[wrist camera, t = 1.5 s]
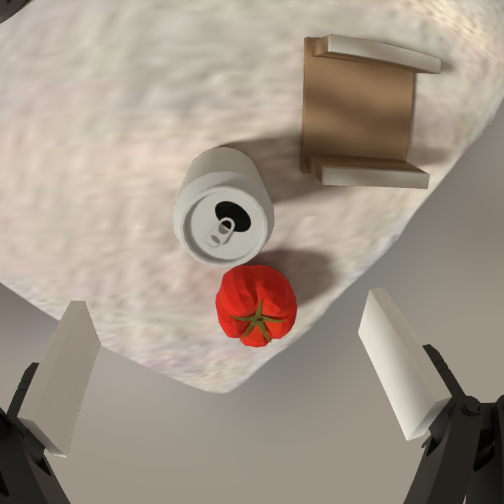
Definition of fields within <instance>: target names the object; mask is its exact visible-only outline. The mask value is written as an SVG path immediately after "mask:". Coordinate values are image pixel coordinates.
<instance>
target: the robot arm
mask: <svg viewBox="0 0 504 504" xmlns="http://www.w3.org/2000/svg"><path fill="white" fill-rule="evenodd" d="M26 1H27V0H0V23H1V22H3V21H5V20H6V19H8V18H9V17H10V16H12V15H13V14H14V13H15V12H16V11H17V10H19V9H20V8H21V7H22V6H23V5H24V4H25V3H26ZM358 334H359V336H360V338H361V340H362V342H363V344H364V346H365V348H366V350H367V352H368V355H369V356H370V359H371V361H372V363H373V365H374V367H375V369H376V372H377V374H378V376H379V378H380V380H381V383H382V385H383V387H384V389H385V391H386V394H387V396H388V398H389V400H390V403H391V405H392V407H393V409H394V412H395V414H396V416H397V419H398V421H399V423H400V426H401V428H402V430H403V433H404V435H405V438H406V440H407V441H408V440H411V439H414V438H417V437H420V436H423V434H424V433H425V432H426V431H427V429H428V428H429V430H430V432H431V435H430V436H429V437H428V439H427V440H426V441H425V442H424V443H423V445H422V446H421V447H422V448H424V447H425V445H426V444H427V445H426V448H425V451H424V453H423V456H422V459H421V462H420V465H419V467H418V470H417V473H416V475H415V478H414V480H413V483H412V485H411V487H410V490H409V492H408V494H407V497H406V499H405V501H404V503H403V504H463V502H464V498H465V495H466V502H465V504H504V395H502V396H501V397H499V399H498V400H497V401H496V402H495V403H480V402H479V401H478V400H477V399H476V398H474V397H472V396H466V395H465V393H464V392H463V390H462V389H461V387H460V385H459V384H458V382H457V380H456V379H455V377H454V375H453V374H452V372H451V371H450V369H448V366H447V364H446V363H445V362H444V359H443V358H442V356H441V355H440V353H439V352H438V351H437V350H436V349H435V348H433V347H432V346H431V345H430V344H428V345H423V346H422V345H421V344H420V342H419V340H418V339H417V337H416V336H415V334H414V333H413V331H412V329H411V328H410V326H409V325H408V323H407V322H406V320H405V319H404V317H403V316H402V314H401V313H400V311H399V310H398V308H397V307H396V306H395V304H394V302H393V301H392V299H391V298H390V296H389V295H388V293H387V292H386V291H385V289H384V288H378V289H370V290H369V294H368V298H367V302H366V306H365V310H364V313H363V317H362V321H361V324H360V328H359V331H358ZM100 345H101V343H100V341H99V338H98V335H97V333H96V330H95V328H94V325H93V322H92V320H91V317H90V314H89V311H88V308H87V305H86V303H85V301H71V302H70V304H69V306H68V307H67V309H66V311H65V313H64V315H63V317H62V319H61V321H60V323H59V325H58V326H57V328H56V331H55V332H54V334H53V336H52V338H51V340H50V342H49V345H48V346H47V349H46V350H45V353H44V355H43V357H42V359H41V361H40V363H34V362H33V363H32V364H31V365H30V366H29V367H28V368H27V369H26V370H25V372H24V374H23V377H22V379H21V382H20V383H19V386H18V390H16V392H15V395H14V397H13V399H12V402H11V404H10V406H9V409H8V411H7V414H5V412H4V411H3V410H2V409H1V408H0V504H70V502H69V500H68V498H67V497H66V495H65V493H64V491H63V490H62V488H61V486H60V484H59V482H58V480H57V478H56V476H55V475H54V472H53V471H52V469H51V466H50V464H49V462H48V461H47V458H46V457H45V455H44V454H43V453H44V449H45V448H46V449H47V450H48V451H49V452H50V453H51V454H53V455H58V456H62V457H66V458H67V457H68V453H69V448H70V444H71V440H72V436H73V432H74V429H75V425H76V421H77V418H78V414H79V411H80V407H81V404H82V400H83V397H84V393H85V390H86V387H87V384H88V381H89V377H90V374H91V371H92V368H93V365H94V362H95V359H96V356H97V353H98V350H99V347H100Z"/></svg>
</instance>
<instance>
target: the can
mask: <svg viewBox="0 0 504 504" xmlns="http://www.w3.org/2000/svg"><path fill="white" fill-rule="evenodd" d="M172 219H173V225H174V232H175V234H176V236H177V238H178V240H179V242H180V243H181V245H182V246H183V247H184V248H185V249H186V251H187V252H188V253H189V254H190V255H192V256H193V257H194V258H195V259H196V260H198V261H200V262H202V263H203V264H205V265H207V266H212V267H218V268H228V267H235V266H238V265H241V264H244V263H246V262H248V261H249V260H250V259H252V258H253V257H255V256H256V255H257V254H258V253H259V251H260V250H261V249H262V248H263V247H264V245H265V244H266V243H267V241H268V240H269V239H270V236H271V233H272V230H273V227H274V208H273V206H272V203H271V200H270V197H269V195H268V193H267V190H266V188H265V186H264V183H263V181H262V179H261V176H260V174H259V172H258V169H257V167H256V165H255V163H254V162H253V161H252V160H251V159H250V158H249V156H248V155H246V154H244V153H243V152H241V151H239V150H237V149H233V148H229V147H218V148H212V149H210V150H207V151H205V152H203V153H202V154H200V155H199V156H198V157H197V158H196V159H194V160H193V162H192V164H191V165H190V167H189V169H188V171H187V173H186V176H185V178H184V181H183V184H182V186H181V189H180V192H179V194H178V197H177V200H176V202H175V207H174V212H173V217H172Z"/></svg>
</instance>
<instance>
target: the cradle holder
mask: <svg viewBox="0 0 504 504" xmlns="http://www.w3.org/2000/svg"><path fill="white" fill-rule="evenodd" d="M440 72H441V59H438V58H435V57H432V56H428V55H425V54H422V53H418V52H415V51H411V50H407V49H404V48H400V47H396V46H391V45H387V44H383V43H378V42H374V41H369V40H364V39H358V38H353V37H347V36H340V35H334V34H330V35H327V36H325V37H323V38H321V39H320V38H311V37H306V38H304V87H303V119H302V143H301V164H300V171H301V172H302V173H312V174H313V175H314V176H315V177H316V178H317V179H318V180H319V181H320V182H321V183H322V184H323V185H346V186H378V187H399V188H417V189H427V188H428V183H429V177H430V174H428V173H426V172H424V171H422V170H421V169H419V168H417V167H415V166H413V165H411V164H409V163H407V162H406V155H407V147H408V139H409V129H410V119H411V107H412V92H413V73H430V74H440Z"/></svg>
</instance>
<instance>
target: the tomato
mask: <svg viewBox="0 0 504 504" xmlns="http://www.w3.org/2000/svg"><path fill="white" fill-rule="evenodd" d="M215 303H216V308H217V314H218V320H219V323H220V325H221V327H222V329H223V330H224V332H225V333H226V335H227V336H228V337H231V338H240V341H242V343H243V344H244V345H245V346H252V347H263V346H266V345H267V344H268V343H269V342H271V340H272V339H280V338H282V337H283V336H285V335H286V334H287V333H288V332H289V331H290V330H291V328H292V326H293V325H294V323H295V319H296V314H297V304H296V298H295V295H294V293H293V291H292V288H291V286H290V284H289V282H288V281H287V280H286V279H285V277H284V276H283V275H282V274H281V273H279V272H278V271H277V270H275V269H273V268H271V267H269V266H264V265H254V266H248V265H240V266H236V267H234V268H232V269H231V270H229V271H228V272H227V273H225V274H224V276H223V279H222V283H221V287H220V290H219V292H218V293H217V295H216V302H215ZM271 343H272V342H271Z"/></svg>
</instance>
